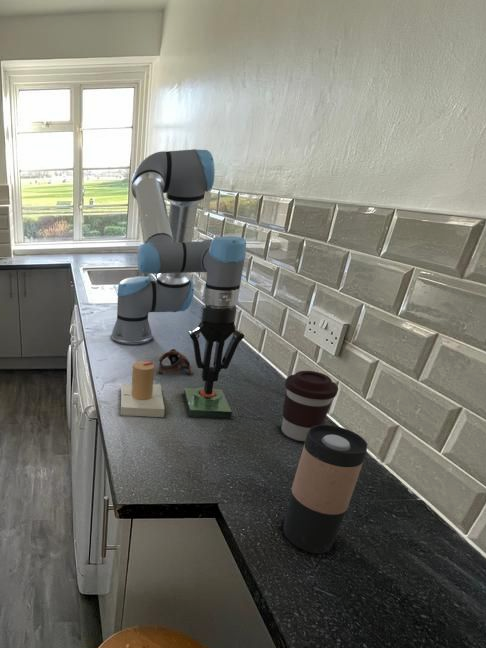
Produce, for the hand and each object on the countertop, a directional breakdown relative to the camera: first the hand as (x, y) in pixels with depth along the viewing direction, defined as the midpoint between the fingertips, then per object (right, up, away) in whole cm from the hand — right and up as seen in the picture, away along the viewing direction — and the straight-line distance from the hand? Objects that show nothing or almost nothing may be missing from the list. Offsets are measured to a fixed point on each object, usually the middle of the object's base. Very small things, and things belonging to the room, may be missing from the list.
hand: (207, 391), depth 106 cm
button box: (0, -4, +2) cm, 5 cm away
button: (0, -2, +1) cm, 2 cm away
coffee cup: (+17, -10, -11) cm, 22 cm away
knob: (-17, -1, +4) cm, 17 cm away
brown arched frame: (-2, +5, +22) cm, 22 cm away
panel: (-17, -4, +5) cm, 18 cm away
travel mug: (+2, -23, -38) cm, 44 cm away
